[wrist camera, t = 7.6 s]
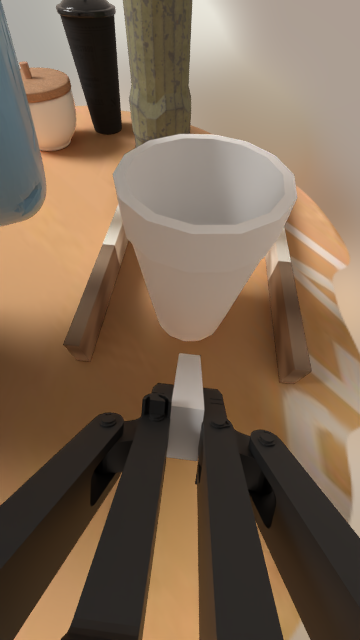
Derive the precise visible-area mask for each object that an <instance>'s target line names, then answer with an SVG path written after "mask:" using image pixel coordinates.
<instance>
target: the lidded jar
mask: <svg viewBox="0 0 360 640" xmlns="http://www.w3.org/2000/svg"><path fill="white" fill-rule="evenodd" d="M19 64H20V67H21V69H20V73H21V76H22V80H23V84H24V88H25V92H26V96H27V100H28V104H29V107H30V111H31V115H32V119H33V123H34V127H35V131H36V135H37V139H38V144H39V148H40V150H41V151H55V150H60V149H63V148H65V147H67V146H68V145H69V144H70V143H71V138H72V136H73V134H74V132H75V128H76V109H75V103H74V99H73V94H72V91H71V84H70V80H69V77H68V76H67V75H66V74H65V73H63V72H60V71H58V70H54V69H49V68H29V66H28V63H27V62H20V63H19Z"/></svg>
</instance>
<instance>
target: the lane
mask: <svg viewBox="0 0 360 640" xmlns="http://www.w3.org/2000/svg"><path fill="white" fill-rule="evenodd" d="M127 244H128V239H127V238H126V234H125V230H124V226H123V222H122V218H121V214H120V209H119V204H118V206H117V209H116V212H115V214H114V217H113V219H112V222H111V224H110V227H109V229H108V232H107V234H106V237H105V240H104V242H103V245H102V247H101V250H100V252H99V255H98V257H97V260H96V262H95V265H94V268H93V270H92V273H91V275H90V278H89V280H88V283H87V285H86V288H85V290H84V293H83V296H82V298H81V301H80V303H79V306H78V308H77V311H76V313H75V316H74V318H73V321H72V323H71V326H70V329H69V331H68V334H67V336H66V339H65V341H64V344H63V345H64V346H65V347H66V348H67V349H68V351H69V352H70V353H71V354H72V355H73V356H74V358H75V359H76V360H81V361H91V358H92V355H93V351H94V348H95V345H96V342H97V339H98V336H99V332H100V329H101V326H102V323H103V320H104V317H105V313H106V310H107V307H108V304H109V301H110V298H111V294H112V291H113V288H114V285H115V282H116V279H117V275H118V272H119V269H120V266H121V263H122V260H123V256H124V253H125V250H126V247H127ZM265 259H266V268H267V277H268V286H269V295H270V303H271V312H272V321H273V330H274V339H275V347H276V356H277V365H278V374H279V382H283V383H292V384H294V383H296V382H297V381H299V380H300V379H301V378H303V377H304V376H306V375H307V374H308V373H310V372H311V365H310V360H309V355H308V349H307V344H306V339H305V334H304V328H303V323H302V318H301V312H300V307H299V302H298V297H297V291H296V286H295V281H294V275H293V270H292V265H291V259H290V254H289V249H288V244H287V238H286V233H285V228H283V230H282V232H281V234H280V236H279V238H278V239H277V241H276V242H275V243H274V245H273V246H272V247H271V249H270V250H269V251H268V252H267V254H266V255H265Z"/></svg>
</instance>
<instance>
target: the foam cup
mask: <svg viewBox="0 0 360 640" xmlns="http://www.w3.org/2000/svg"><path fill="white" fill-rule="evenodd" d="M113 178H114V183H115V188H116V193H117V199H118V204H119V209H120V214H121V218H122V222H123V226H124V230H125V234H126V238H127V239H128V240H129V241H130V242H131V243H132V245H133V248H134V251H135V254H136V257H137V260H138V263H139V266H140V268H141V271H142V274H143V277H144V280H145V283H146V286H147V289H148V292H149V295H150V298H151V301H152V304H153V307H154V310H155V313H156V316H157V319H158V322H159V324H160V326H161V327H162V328H163V329H164V330H165V331H166V332H167V333H168V334H169V335H170V336H172V337H175V338H177V339H180V340H182V341H200V340H202V339H204V338H206V337H208V336H210V335H212V334H213V333H214V332H215V330H216V329H217V328H218V326H219V325H220V324H221V322H222V321H223V319H224V318H225V316H226V314H227V313H228V311H229V310H230V308H231V306H232V305H233V303H234V302H235V300H236V299H237V297H238V295H239V294H240V292H241V291H242V289H243V287H244V286H245V284H246V283H247V281H248V279H249V278H250V276H251V275H252V273H253V271H254V270H255V268H256V267H257V265H258V263H259V262H260V260H261V259H263V258H264V256H265V255H266V254H267V252H268V251H269V250H270V249H271V247H272V246H273V245H274V243H275V242H276V241H277V239H278V238H279V236H280V234H281V232H282V230H283V228H284V226H285V223H286V221H287V219H288V217H289V215H290V213H291V210H292V208H293V206H294V204H295V202H296V200H297V192H296V184H295V177H294V174H293V173H292V172H291V171H290V170H289V169H288V168H287V167H286V166H285V165H284V164H283V163H282V162H281V161H280V159H279V158H277V156H276V155H274V154H271V153H270V152H268V151H265V150H263V149H261V148H259V147H257V146H255V145H253V144H251V143H249V142H247V141H242V140H238V139H233V138H229V137H224V136H220V135H215V134H178V135H173V136H168V137H163V138H159V139H154V140H149V141H147V142H145V143H144V144H142V145H140V146H138V147H137V148H135V149H133V150H131V151H129V152H128V153H126V154H124V156H123V158H122V159H121V161H120V163H119V164H118V166H117V168H116V169H115V171H114V173H113Z"/></svg>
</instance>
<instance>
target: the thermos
mask: <svg viewBox="0 0 360 640" xmlns="http://www.w3.org/2000/svg"><path fill="white" fill-rule="evenodd" d="M123 5H124V15H125V25H126V34H127V44H128V54H129V64H130V72H131V83H132V85H131V91H130V97H129V102H130V110H131V119H132V128H133V133H134V135H135V141H136V148H137V147H138V146H140V145H142V144H144V143H145V142H147V141H149V140H154V139H159V138H163V137H168V136H173V135H178V134H189V133H190V120H191V95H190V90H189V86H188V84H189V62H190V39H191V15H192V0H123Z"/></svg>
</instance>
